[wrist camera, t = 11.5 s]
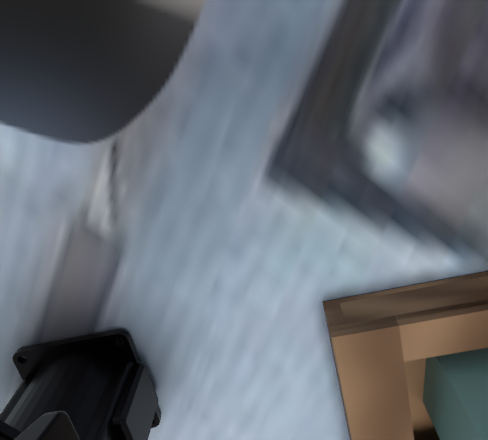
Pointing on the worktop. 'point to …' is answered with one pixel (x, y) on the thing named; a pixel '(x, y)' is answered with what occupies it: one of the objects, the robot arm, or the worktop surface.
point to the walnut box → (401, 350)
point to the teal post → (458, 394)
